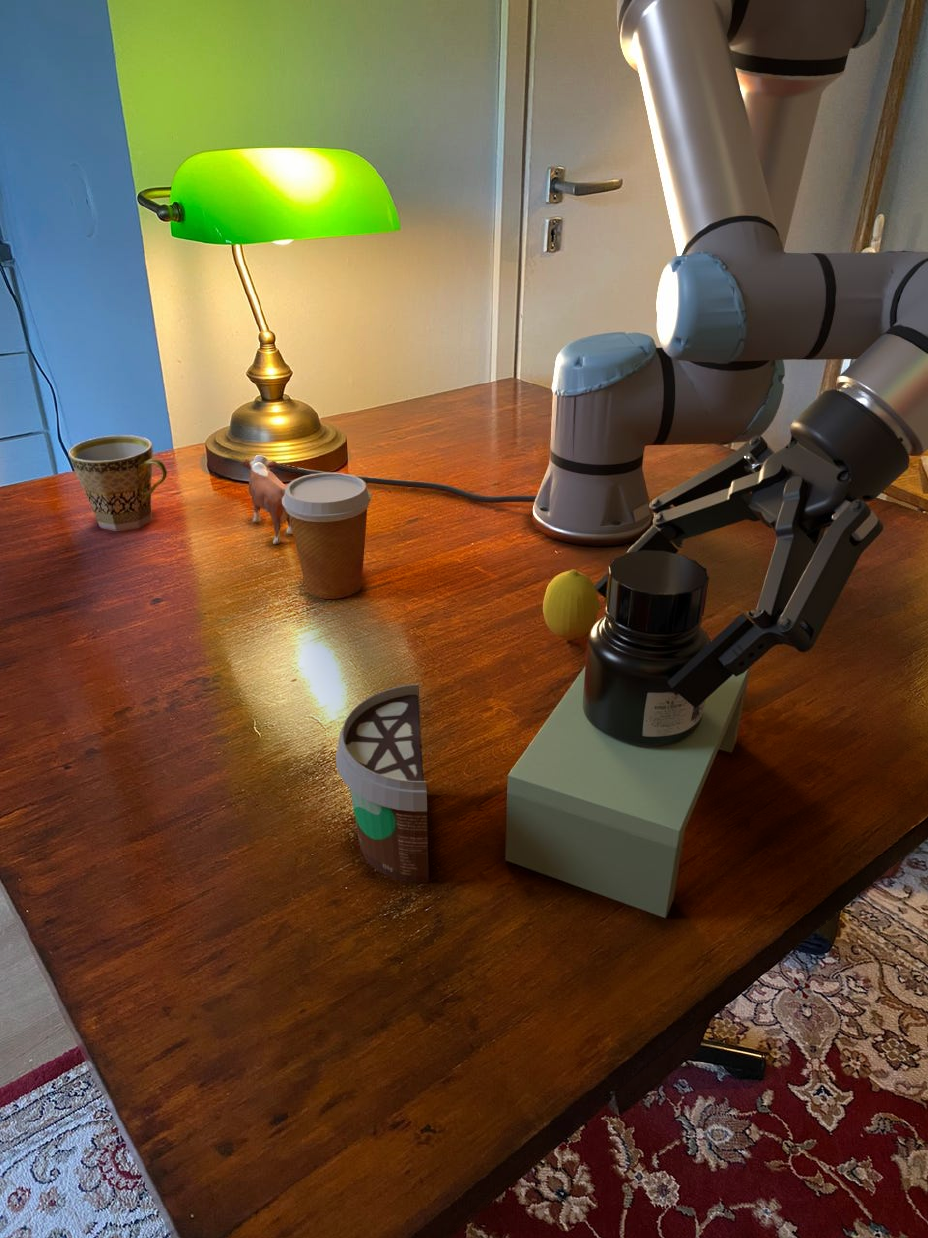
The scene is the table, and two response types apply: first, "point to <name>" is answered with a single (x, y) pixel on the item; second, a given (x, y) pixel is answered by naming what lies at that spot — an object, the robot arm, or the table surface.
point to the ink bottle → (646, 648)
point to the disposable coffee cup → (329, 531)
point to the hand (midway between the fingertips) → (639, 642)
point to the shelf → (613, 800)
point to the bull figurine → (267, 493)
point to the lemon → (570, 605)
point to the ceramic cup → (117, 479)
